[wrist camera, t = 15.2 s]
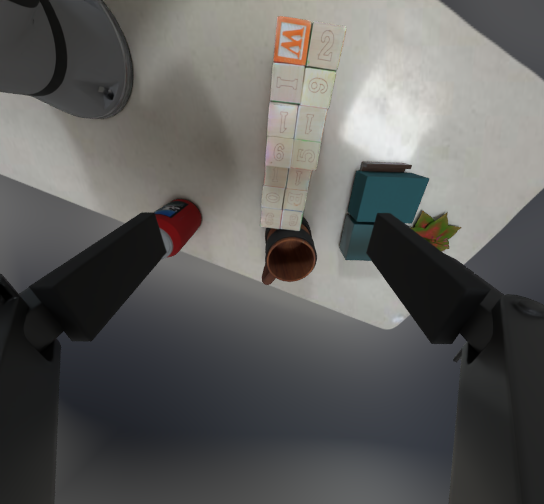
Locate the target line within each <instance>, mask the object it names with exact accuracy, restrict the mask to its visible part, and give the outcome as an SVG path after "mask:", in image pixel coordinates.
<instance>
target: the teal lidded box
mask: <svg viewBox="0 0 544 504" xmlns="http://www.w3.org/2000/svg"><path fill="white" fill-rule="evenodd" d="M411 167H412V165H409V164H405V163H386V162H362V164H361V168H360V171H375V172H404V171H405V169H411ZM374 223H375V222H358V221H356V220H355V219H354V218H353V217H352V216H351V215H346V220H345V224H344V229H343V233H342V238H341V243H340V247H339V248H340V250H341V252H342V254H343V256H344V258H345V260H364V261H372V260H371V259H370V258H369V256H368V255H367V253H366V252H367V248H368V244H369V241H370V237H371V234H372V230H373V226H374ZM404 224H405V223H404Z"/></svg>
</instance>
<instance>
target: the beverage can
mask: <svg viewBox="0 0 544 504" xmlns="http://www.w3.org/2000/svg"><path fill="white" fill-rule="evenodd" d="M154 213H155V216H156V219H157V222H158V225H159V228H160V232H161V235H162V238H163V241H164V245H165V248H166V251H167V253H166V254H165V255H164V256H163V257H162V259H164V258H166V257H171V256H174V255H176V254H177V253H178V252H179V251H180V250H181V248H182V247H183V246H184V245H185V244H186V243H187V241H188V240H189V239H190V238H191V237H192V235H193V234H194V233H195V232H196V230H197V229H198V228H199V226H200V224H201V214H200V212H199V210H198V208H197V207H196V206H195V205H194V204H193V203H191V202H189V201H187V200H184V199H176V200H173V201H171V202H170V203H168V204H166V205H165V206H163V207H162V208H160V209H158V210H157V211H155V212H154Z"/></svg>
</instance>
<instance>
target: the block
mask: <svg viewBox="0 0 544 504" xmlns="http://www.w3.org/2000/svg"><path fill="white" fill-rule="evenodd" d="M428 181H429V178H426V177H423V176H420V175H416V174H413V173H404V172H375V171H356V175H355V180H354V184H353V189H352V193H351V198H350V203H349V207H348V212H349V213H350V215H351V216H352V217H353V218H354V219H355V220H356V221H358V222H375V219H376V215H377V213H391V214H392V215H394V216H395V217H396V218H398V219H399V220H400V221H402V222H403V223H412V222H413V220H414V217H415V214H416V212H417V209H418V207H419V204H420V202H421V199H422V196H423V194H424V191H425V189H426V186H427V184H428Z"/></svg>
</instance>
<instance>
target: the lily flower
mask: <svg viewBox="0 0 544 504" xmlns="http://www.w3.org/2000/svg"><path fill="white" fill-rule="evenodd" d="M460 228H462V227H455V226H450V225H448V218H447V213H446V214H444V215H443V216H442V217H440V218H439V219H437V220H436V221H434V219H433V218H432V217H431V216H430V215H428V214H426V213H425V212H424V211H422V214H421V215H420V218H419V219H418V221H417V223H416V225H415V228H411V229H412V230H413V231H415V232H416V233H417V234H419V235H420V236H421V237H423V238H424V239H425V240H427V241H428V242H429V243H431V244H432V245H433V246H435V247H436V248H437V249H439V250H440V251H444V250H445V249H449V245H448V244H449V241H448V240H447V239H449V238H451V237H452V236H453V235H454V234H455V233H456V232H457V231H458V230H459V229H460Z"/></svg>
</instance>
